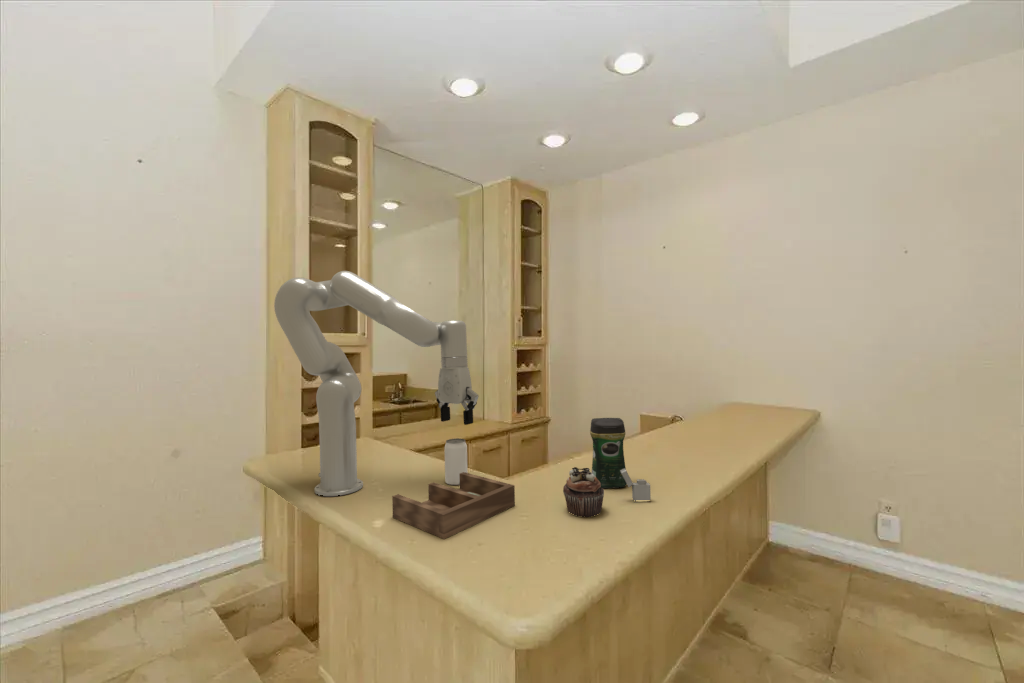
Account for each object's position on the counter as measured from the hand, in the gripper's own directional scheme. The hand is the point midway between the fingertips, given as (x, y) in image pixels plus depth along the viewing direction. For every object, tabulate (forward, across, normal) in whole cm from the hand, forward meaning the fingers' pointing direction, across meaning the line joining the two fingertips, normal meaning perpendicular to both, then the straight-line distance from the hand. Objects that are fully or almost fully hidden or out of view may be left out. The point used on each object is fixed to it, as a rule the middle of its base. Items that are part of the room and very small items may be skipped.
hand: (456, 422), depth 126 cm
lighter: (+18, +46, +16) cm, 53 cm away
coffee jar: (+18, +36, +23) cm, 46 cm away
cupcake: (+18, +40, +3) cm, 44 cm away
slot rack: (+17, +16, -16) cm, 28 cm away
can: (+18, 0, -1) cm, 18 cm away
